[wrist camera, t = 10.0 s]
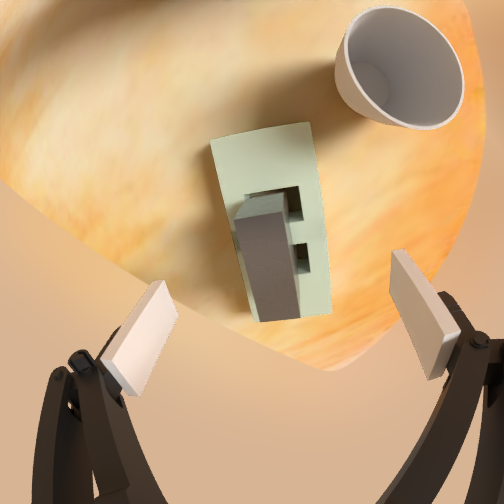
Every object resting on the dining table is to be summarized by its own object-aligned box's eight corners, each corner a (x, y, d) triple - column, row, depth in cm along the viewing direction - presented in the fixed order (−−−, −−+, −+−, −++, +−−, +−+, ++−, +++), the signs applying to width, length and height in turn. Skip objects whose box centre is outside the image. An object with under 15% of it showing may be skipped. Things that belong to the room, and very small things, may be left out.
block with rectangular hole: (217, 138, 23) (209, 140, 20) (306, 122, 21) (309, 121, 19) (256, 305, 30) (254, 322, 27) (328, 296, 29) (332, 313, 26)
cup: (366, 145, 21) (416, 157, 12) (301, 82, 20) (313, 50, 11) (418, 94, 18) (481, 85, 9) (357, 31, 17) (395, -13, 8)
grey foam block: (252, 188, 25) (233, 219, 16) (284, 182, 24) (282, 211, 16) (269, 264, 28) (259, 322, 20) (298, 260, 27) (300, 317, 19)
